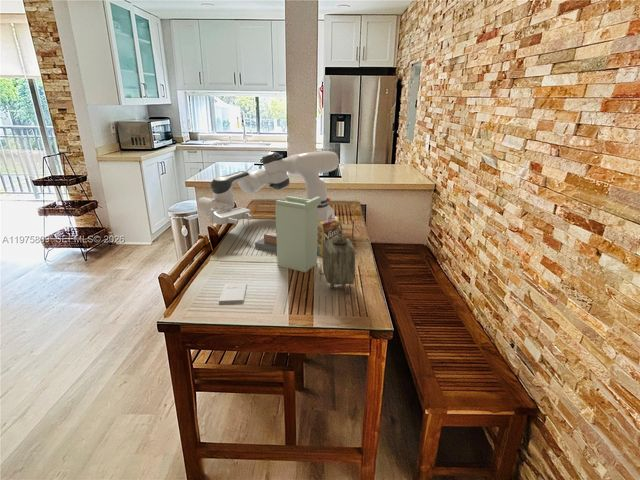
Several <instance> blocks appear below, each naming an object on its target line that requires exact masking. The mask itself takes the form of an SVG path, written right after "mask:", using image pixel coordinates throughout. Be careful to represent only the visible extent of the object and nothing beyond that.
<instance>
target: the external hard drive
mask: <svg viewBox="0 0 640 480" xmlns="http://www.w3.org/2000/svg"><path fill="white" fill-rule="evenodd" d="M247 287H248V283H245V282H244V283H243V282H242V283H239V282H238V283H225V284H224V285H223V288H222V291H221V294H220V297H219V300H218V304H238V303H239V304H240V303H241V304H242V303H244V302H245V299H246V298H245V296H246V293H247Z"/></svg>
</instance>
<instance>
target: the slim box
mask: <svg viewBox="0 0 640 480" xmlns="http://www.w3.org/2000/svg"><path fill="white" fill-rule="evenodd" d="M263 238H264V243H268V244H273V245H277V239H276V232H271V231H268V232H265V233H264V234H263Z"/></svg>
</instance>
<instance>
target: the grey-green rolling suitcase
mask: <svg viewBox="0 0 640 480" xmlns="http://www.w3.org/2000/svg"><path fill="white" fill-rule="evenodd" d="M339 228H340V229H339ZM337 229H338V235H335V236H334V238H333V239H328V240H326V241H324V242H323V256H322V270H323V271H322V272H323V274H324V279H325V280H326V282H327V283H328V284H329V288H330V289H333V288H335V286H337V285H342V286H343V288H344V289H345V294H346V295H349V294H350V292H351V291H350V290H349V289H348V288H347V285H353V284H354V283H355V271H356V252H355V247H354V244H353V243H352V241H351V240H350V238H348V237H346V236H344V235H343V226H342V223H341V222H340V221H339V222H338V224H337Z"/></svg>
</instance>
